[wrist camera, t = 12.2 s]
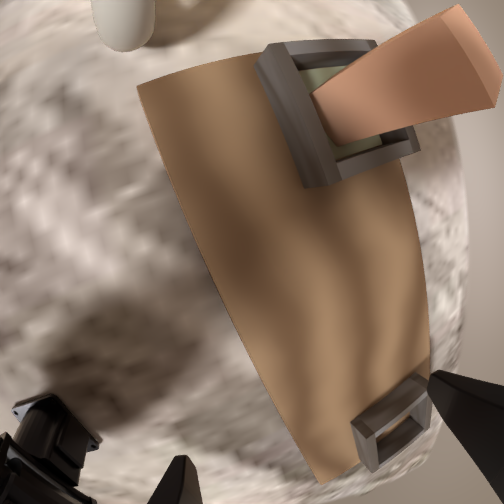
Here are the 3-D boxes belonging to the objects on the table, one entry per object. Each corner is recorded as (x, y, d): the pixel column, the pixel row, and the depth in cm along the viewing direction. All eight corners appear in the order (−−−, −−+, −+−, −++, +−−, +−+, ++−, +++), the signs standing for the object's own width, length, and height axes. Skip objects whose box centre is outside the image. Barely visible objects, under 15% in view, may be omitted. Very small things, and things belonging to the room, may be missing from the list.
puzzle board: (315, 477, 25) (332, 501, 21) (138, 95, 15) (131, 63, 11) (420, 403, 29) (441, 419, 24) (341, 51, 19) (372, 29, 14)
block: (337, 146, 18) (494, 107, 6) (299, 102, 16) (439, 16, 5) (365, 117, 18) (503, 75, 7) (332, 76, 17) (458, 3, 5)
